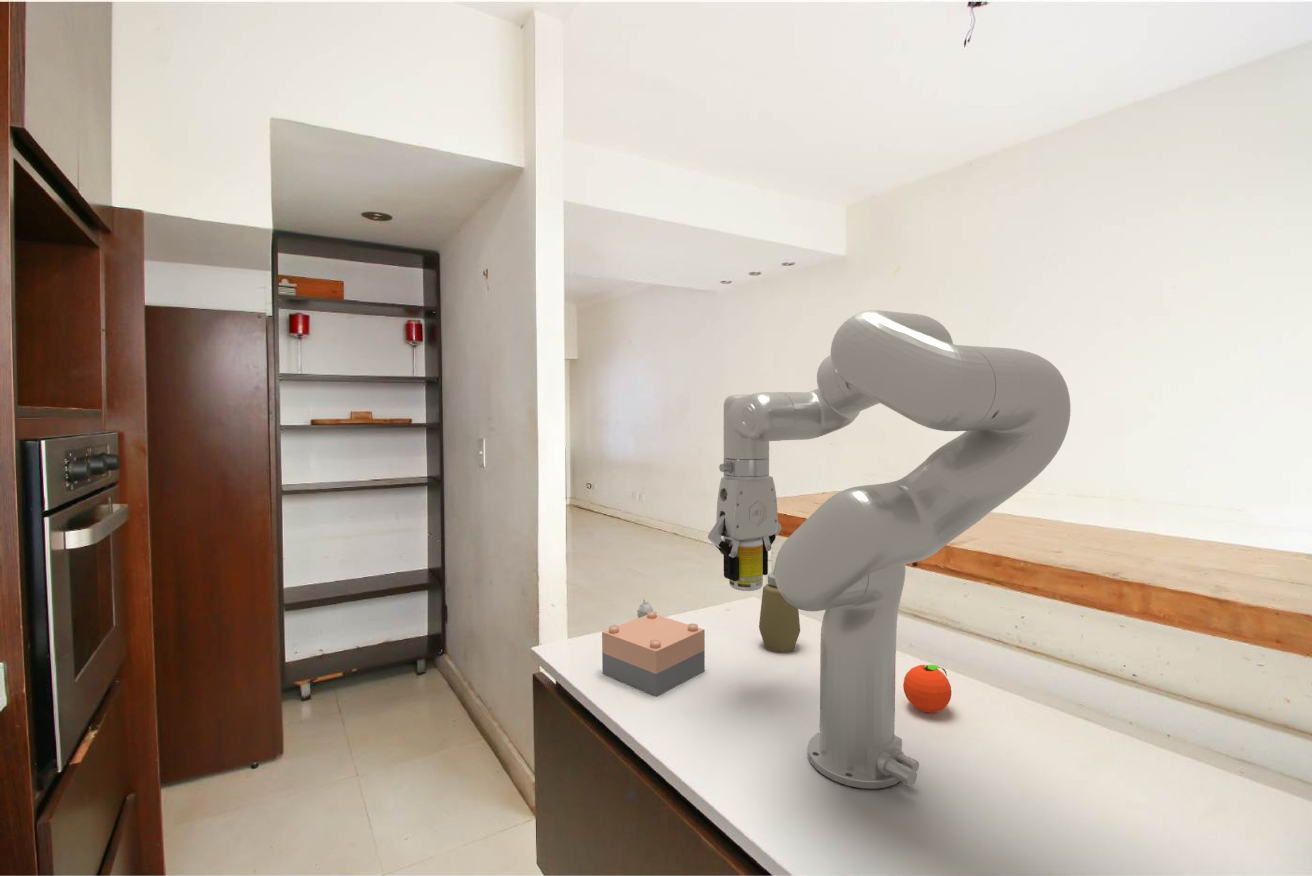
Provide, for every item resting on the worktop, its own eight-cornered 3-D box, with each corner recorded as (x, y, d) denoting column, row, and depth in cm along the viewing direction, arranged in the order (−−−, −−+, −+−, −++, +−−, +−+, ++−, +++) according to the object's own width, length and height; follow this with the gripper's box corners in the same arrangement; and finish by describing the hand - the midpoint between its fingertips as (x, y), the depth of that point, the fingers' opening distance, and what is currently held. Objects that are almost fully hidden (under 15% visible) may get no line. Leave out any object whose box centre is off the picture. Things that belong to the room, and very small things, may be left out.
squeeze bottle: (750, 643, 122) (750, 555, 121) (782, 636, 126) (782, 550, 125) (776, 658, 115) (776, 564, 114) (809, 649, 119) (809, 559, 118)
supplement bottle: (769, 587, 102) (769, 527, 101) (746, 594, 98) (747, 531, 98) (744, 580, 106) (745, 522, 106) (722, 586, 103) (722, 526, 102)
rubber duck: (644, 629, 130) (644, 592, 130) (667, 636, 126) (667, 598, 126) (626, 636, 126) (626, 598, 126) (650, 644, 122) (650, 605, 122)
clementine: (927, 694, 101) (928, 652, 100) (965, 713, 94) (966, 668, 94) (893, 705, 97) (893, 661, 97) (930, 725, 91) (930, 679, 90)
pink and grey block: (704, 670, 110) (704, 625, 109) (656, 696, 100) (656, 646, 100) (651, 651, 119) (651, 609, 118) (602, 673, 109) (602, 627, 108)
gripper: (719, 474, 93) (719, 590, 94) (799, 467, 103) (799, 573, 104) (691, 470, 100) (691, 579, 101) (769, 464, 109) (768, 564, 110)
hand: (746, 575), depth 102 cm, fingers closed on supplement bottle, 5 cm apart
